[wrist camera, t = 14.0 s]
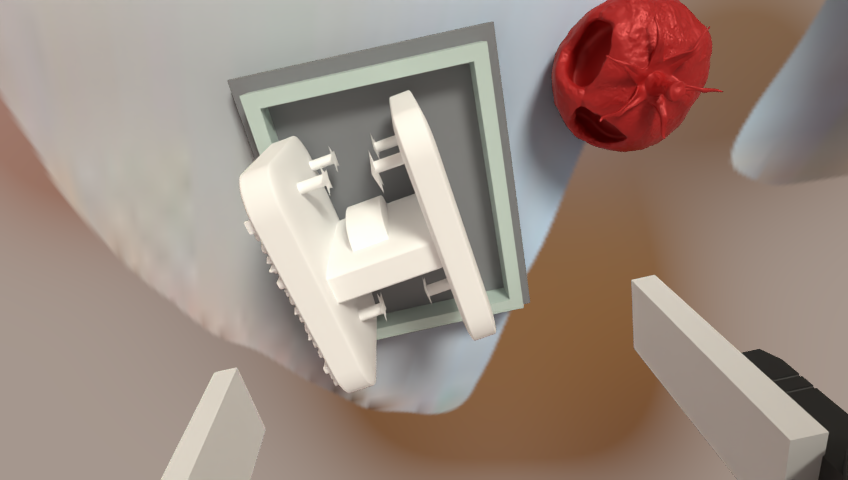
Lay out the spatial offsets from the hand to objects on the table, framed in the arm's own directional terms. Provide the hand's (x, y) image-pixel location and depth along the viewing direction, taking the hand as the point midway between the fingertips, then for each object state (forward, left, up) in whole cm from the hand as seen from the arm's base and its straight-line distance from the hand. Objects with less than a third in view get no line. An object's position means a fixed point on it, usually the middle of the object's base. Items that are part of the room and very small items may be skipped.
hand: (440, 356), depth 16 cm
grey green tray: (+1, +2, -23) cm, 23 cm away
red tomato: (-16, -4, -23) cm, 28 cm away
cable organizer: (+3, +2, -22) cm, 22 cm away
